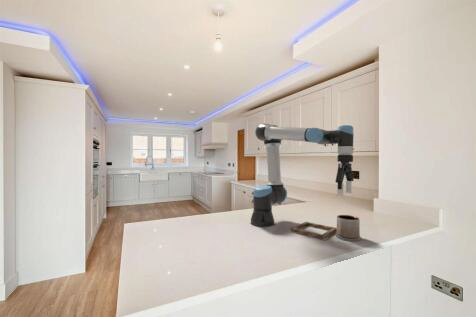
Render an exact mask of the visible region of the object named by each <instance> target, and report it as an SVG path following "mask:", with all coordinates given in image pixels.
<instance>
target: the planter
mask: <svg viewBox="0 0 476 317" xmlns="http://www.w3.org/2000/svg"><path fill="white" fill-rule="evenodd" d="M360 220H361V219H360V218H359V217H357V216H354V215H351V214H350V215H348V214H338V215H337V216H336V228H337V232H336V233H337V234H338V235H339V236H341V237H344V238H349V239H356V238H358V237H359V236H360V235H361V233H360V232H361V231H360V230H361V229H360V226H361V224H360ZM360 237H361V236H360Z"/></svg>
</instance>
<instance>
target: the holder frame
mask: <svg viewBox="0 0 476 317" xmlns="http://www.w3.org/2000/svg"><path fill="white" fill-rule="evenodd" d="M305 227H311V228H316V229H320V230H325V231H326V232H324V233H322V234H321V233H318V232H314V231H310V230H309V231H308V230H305V229H304V228H305ZM290 233H296V234H299V235H303V236H307V237H311V238H315V239H320V240H323V241H325V240H326V239H328V238H330V237H331V236H332V235H334V234H336V233H337V227H336V226H330V225H325V224H319V223H314V222H309V221H304V222H302V223H300V224H298V225H295V226H293V227H291V228H290Z"/></svg>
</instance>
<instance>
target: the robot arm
mask: <svg viewBox="0 0 476 317" xmlns="http://www.w3.org/2000/svg"><path fill="white" fill-rule="evenodd" d="M254 134H255V136H256V138H257V139H258V140H259V141H262V142H263V143H264V144H263V145H264V146H265V147H266V163H267V164H266V165H267V178H268V180H267V183H266V184H265V185H258V186H255V187H254V188H253V194H252V195H253V196H252V197H253V205H252V206H253V207H252V208H253V211H252V215H251V218H250V224H251V225H253V226H257V227H271V226H274V225H275V217H274V214H273V211H272V210H273V209H272V208H273V205H279V204H281V203H283V202H285V201H286V200H287V197H288V191H287V189H286V187H285V186H284V183H283V182H282V179H281V178H282V175H281V160H280V159H281V158H280V157H281V156H280V146H281V145H282V141H283V140H284V141H295V142H305V143H306V142H307V143H314V144H317V145H336V144H337V160H336V161H337V162H338V166H337V173H336V177H335V183H337V184H336V186H337V188H336V192H337V194H336V195H337V196H339V197H340V196H341V197H343V196H344V179H346V181H345V193H348V194H352V188H353V187H352V185H353V184H352V182H353V181H354V177H353V170H352V163H353V162H354V150H355V148H354V127H353V126H352V125H350V124H349V125H347V124H346V125H345V124H344V125H339V126H338V127H337V129H335V130H334V129H333V130H326V129H321V128H319V127H297V126H296V127H295V126H293V127H291V126H278V125H276V124H274V125H273V124H269V123H260V124H258V126H256V128H255V131H254ZM339 162H340V163H339Z"/></svg>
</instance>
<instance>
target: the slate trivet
mask: <svg viewBox="0 0 476 317" xmlns="http://www.w3.org/2000/svg"><path fill="white" fill-rule="evenodd" d="M335 237H336V238H337V239H339V240H342V241H346V242H360V241H361V240H362V237H361V236H359V237H358V238H356V239H349V238H344V237H341V236H339V235H338V234H337V232H335Z"/></svg>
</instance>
